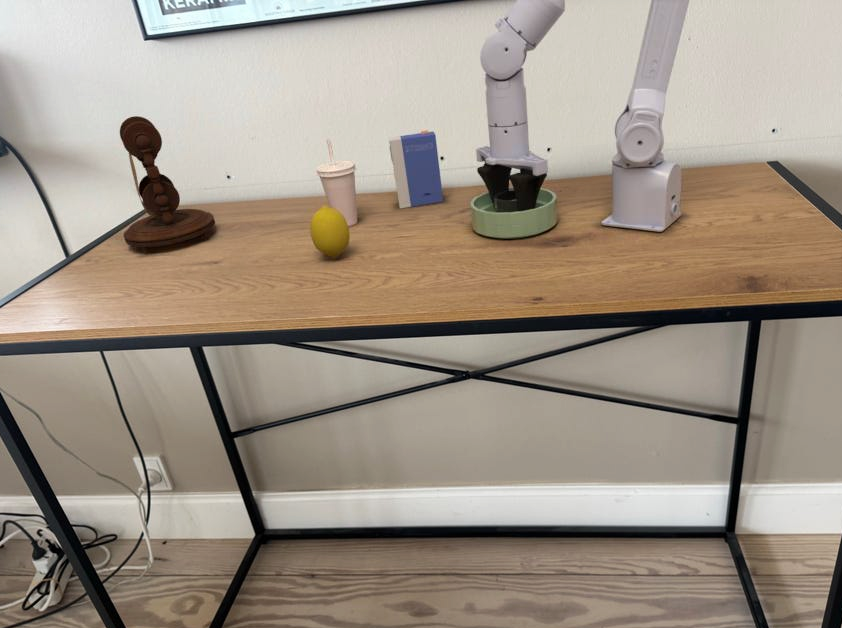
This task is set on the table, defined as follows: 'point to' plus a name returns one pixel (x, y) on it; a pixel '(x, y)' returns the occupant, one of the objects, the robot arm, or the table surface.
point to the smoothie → (340, 186)
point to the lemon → (329, 231)
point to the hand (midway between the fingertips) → (513, 214)
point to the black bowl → (506, 201)
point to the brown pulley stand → (158, 194)
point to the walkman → (416, 169)
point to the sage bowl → (514, 217)
